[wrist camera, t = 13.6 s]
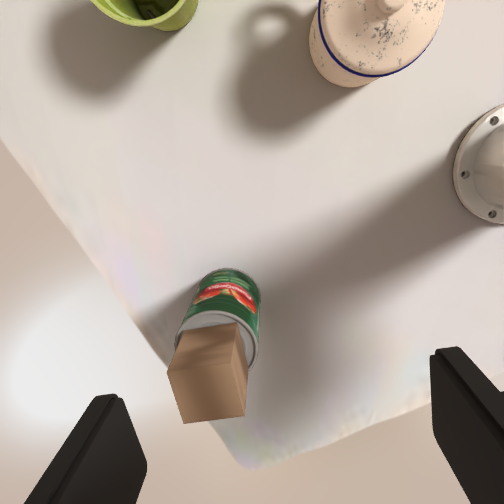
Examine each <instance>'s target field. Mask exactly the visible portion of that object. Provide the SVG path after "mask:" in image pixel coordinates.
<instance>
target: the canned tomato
mask: <svg viewBox="0 0 504 504" xmlns="http://www.w3.org/2000/svg"><path fill="white" fill-rule="evenodd" d="M260 302H261V295H260V290H259V288H258V285H257V284H256V282H255V281H254V279H253V278H252V277H250V276H249V275H248V274H246V273H245V272H243V271H241V270H238V269H233V268H222V269H218V270H215V271H213V272H211V273H209V274H208V275H207V276H206V277H205V278H204V279H203V280H202V281H201V283H200V285H199V287H198V290H197V292H196V294H195V296H194V299H193V301H192V303H191V305H190V307H189V309H188V311H187V313H186V316H185V318H184V320H183V322H182V325H181V327H180V329H179V330H178V332H177V335H176V338H175V352H176V349H177V347H178V345H179V342H180V340H181V338H182V335H183V333H184V331H185V330H190V329H197V328H203V327H209V326H216V325H222V324H229V323H235V322H237V323H238V327H239V331H240V335H241V339H242V343H243V348H244V352H245V356H246V360H247V364H248V372H249V371H250V369H251V368H252V367H253V365H254V363H255V361H256V359H257V354H258V334H259V315H260Z"/></svg>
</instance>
